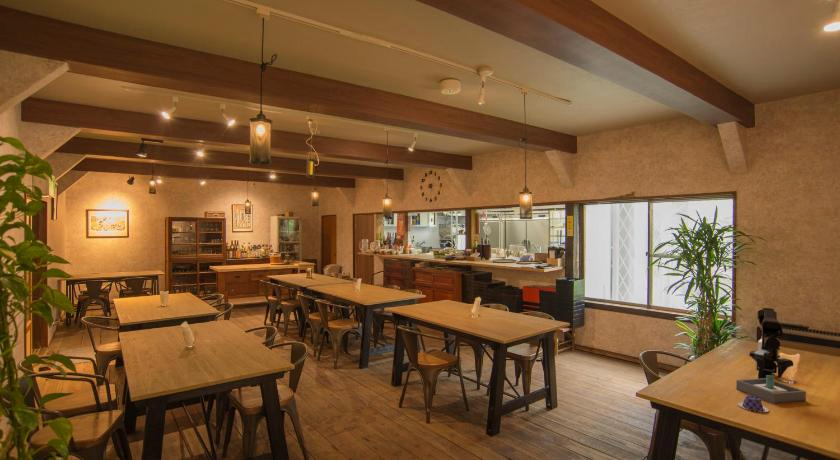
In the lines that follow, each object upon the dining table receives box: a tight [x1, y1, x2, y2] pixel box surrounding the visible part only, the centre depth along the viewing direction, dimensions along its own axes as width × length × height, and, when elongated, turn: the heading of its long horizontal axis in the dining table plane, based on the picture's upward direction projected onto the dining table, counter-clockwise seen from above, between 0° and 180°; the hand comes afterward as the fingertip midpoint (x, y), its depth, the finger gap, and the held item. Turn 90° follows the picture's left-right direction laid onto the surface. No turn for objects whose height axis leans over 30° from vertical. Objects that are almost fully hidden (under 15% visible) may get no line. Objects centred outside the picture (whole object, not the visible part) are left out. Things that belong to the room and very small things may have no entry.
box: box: [735, 378, 807, 405], centre depth 226 cm, size 20×20×5 cm
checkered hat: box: [737, 395, 770, 413], centre depth 209 cm, size 12×12×5 cm
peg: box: [766, 375, 775, 389], centre depth 226 cm, size 3×3×9 cm
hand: (770, 374), depth 226 cm, fingers open, 9 cm apart
